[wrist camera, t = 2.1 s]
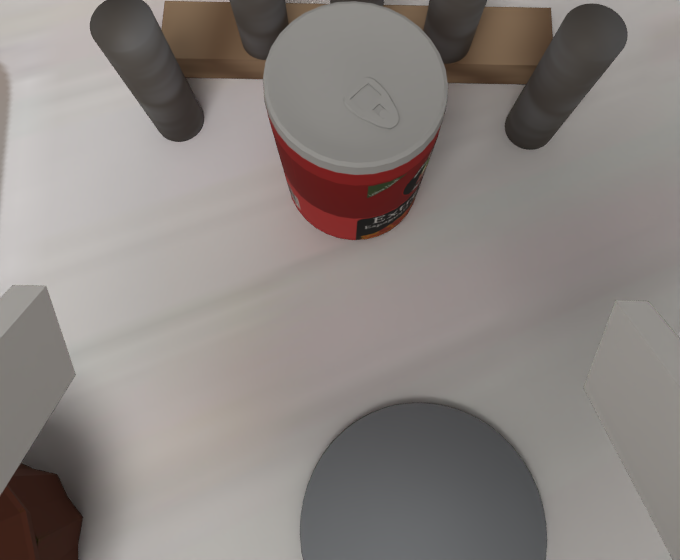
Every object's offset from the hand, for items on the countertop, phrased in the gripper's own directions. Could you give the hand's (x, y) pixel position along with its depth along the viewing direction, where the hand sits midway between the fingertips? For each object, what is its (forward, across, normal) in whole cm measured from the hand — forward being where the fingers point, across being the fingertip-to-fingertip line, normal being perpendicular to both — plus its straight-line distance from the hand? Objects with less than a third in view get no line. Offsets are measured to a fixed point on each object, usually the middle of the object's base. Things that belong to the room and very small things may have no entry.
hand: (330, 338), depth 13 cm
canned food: (+21, +1, -5) cm, 21 cm away
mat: (+7, +5, -18) cm, 20 cm away
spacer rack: (+25, +1, 0) cm, 25 cm away
